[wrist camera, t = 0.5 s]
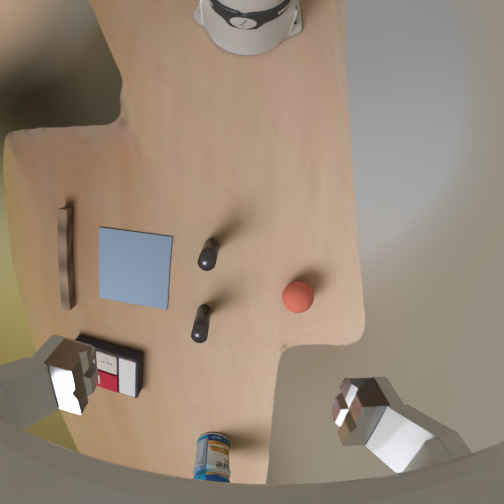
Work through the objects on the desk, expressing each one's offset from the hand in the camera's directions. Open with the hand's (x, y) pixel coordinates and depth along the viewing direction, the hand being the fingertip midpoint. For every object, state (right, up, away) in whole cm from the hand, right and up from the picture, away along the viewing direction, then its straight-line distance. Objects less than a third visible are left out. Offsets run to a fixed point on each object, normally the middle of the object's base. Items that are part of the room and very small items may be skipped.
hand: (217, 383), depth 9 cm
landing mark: (-21, +1, +46) cm, 50 cm away
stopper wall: (-34, +3, +45) cm, 56 cm away
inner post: (-6, +5, +45) cm, 46 cm away
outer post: (-8, -7, +48) cm, 50 cm away
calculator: (-30, -20, +52) cm, 63 cm away
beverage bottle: (-9, -43, +59) cm, 74 cm away
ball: (+9, -4, +45) cm, 46 cm away
